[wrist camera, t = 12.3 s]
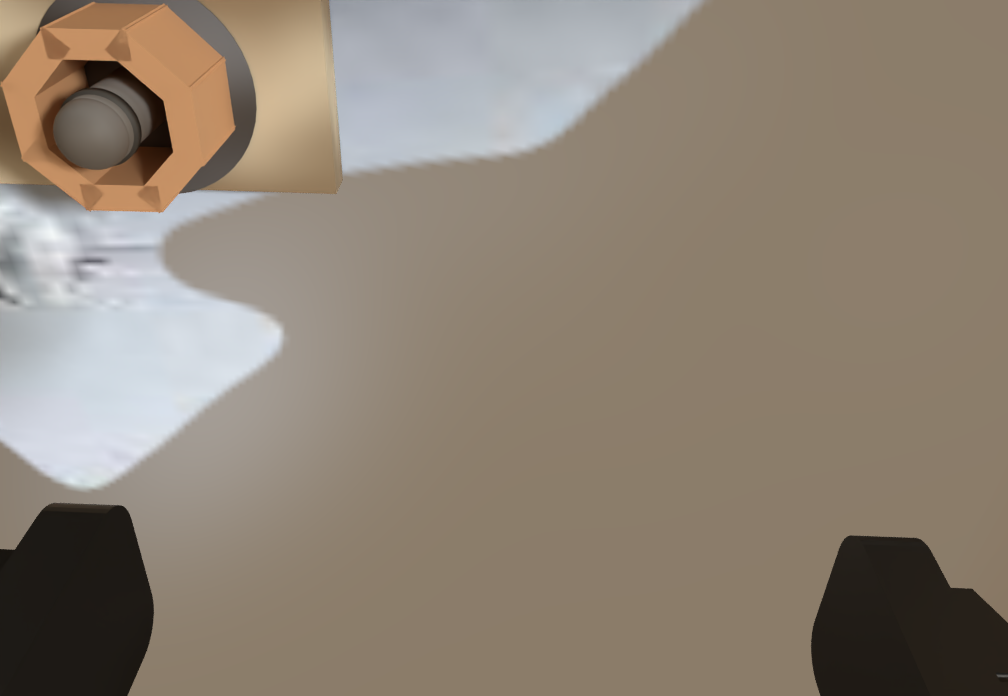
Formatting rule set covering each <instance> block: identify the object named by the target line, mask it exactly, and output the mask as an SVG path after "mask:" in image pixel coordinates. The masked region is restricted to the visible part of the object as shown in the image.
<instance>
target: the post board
mask: <svg viewBox="0 0 1008 696" xmlns="http://www.w3.org/2000/svg"><path fill="white" fill-rule="evenodd" d="M92 2H95V3H114V4H152V5H162V4H163V3H164V4H165V5H168V8H170V9H171V10H172V11H173V12H174V13H175V14H176V15H177V16H178V17H179V18H181V19H182V20H183V21H184V22H185V23H186V24H187V25H188V26H189V27H190V28H191V29H193V30H194V31H195V32H196V33H197V34H198V35H199V36H200V37H201V38H202V39H204V40H205V41H206V42H207V43H208V44H209V45H210V46H211V47H212V48H213V49H215V50H216V51H217V52H218V53H219V54H220V55H221V56H222V57H224V58H225V59H226V61H225V64H226V71H227V78H228V85H229V92H230V98H231V105H232V112H233V119H234V125H235V126H236V127H235V130H234V131H233V133H232V134H231V135H230V136H229V137H228V139H227V140H226V141H225V142H224V143H223V144H222V146H221V147H220V148H219V149H218V150H217V152H216V153H215V154H214V155H213V156H212V157H211V159H210V160H209V161H208V162H207V163H206V165H205V166H202V167H201V168H200V169H199V170H198V171H197V173H196V174H195V175H194V176H193V177H192V178H191V180H190V181H189V182H188V183H187V184H186V185H185V187H184V188H183V189H182V190H181V191H180V193H186V192H192V191H195V190H228V191H260V192H292V193H326V194H336V193H337V191H338V189H339V187H340V185H341V183H342V180H343V178H342V165H341V152H340V139H339V126H338V113H337V100H336V87H335V74H334V61H333V48H332V35H331V22H330V9H329V0H0V85H1V82H2V81H3V80H5V78H6V77H7V76H8V74H9V73H10V72H11V70H12V69H13V67H14V66H15V65H16V63H17V62H18V61H19V59H20V58H21V56H22V55H23V54H24V52H25V51H26V49H27V48H28V47H29V45H30V44H31V43H32V41H33V40H34V38H35V37H36V36H37V34H38V33H39V32H40V28H41V27H43V26H45V25H47V24H49V23H51V22H53V21H55V20H57V19H59V18H61V17H63V16H65V15H67V14H69V13H71V12H73V11H75V10H77V9H79V8H81V7H84V6H86V5H88V4H90V3H92ZM84 69H85V73H86V77H87V82H88V86H89V88H84V89H81V90H79V91H77V92H75V93H74V94H72V95H71V96H69V97H68V98H67V99H66V100H65V101H64V102H63V104H62V105H61V108H60V110H59V112H58V113H57V115H56V117H55V120H54V124H53V135H54V139H55V142H56V145H57V147H58V148H59V150H60V151H61V153H62V154H63V155H64V156H65V157H66V158H67V159H68V160H69V161H71V162H72V163H74V164H75V165H77V166H80V167H82V168H86V169H91V170H102V169H107V168H110V167H113V166H117V165H120V164H122V163H124V162H126V161H127V160H128V159H129V158H130V157H132V156H133V155H134V154H135V153H136V151H137V150H138V148H139V147H172V143H171V138H170V132H169V127H168V122H167V117H166V111H165V106H164V101H163V100H162V99H161V98H160V97H159V96H158V95H156V94H155V93H154V92H153V91H152V90H151V89H149V88H148V87H147V86H146V85H145V84H144V83H142V82H141V81H140V80H139V79H138V78H137V77H135V76H134V75H133V74H132V73H131V72H130V71H128V70H127V69H126V68H125V67H124V66H123V65H121V64H120V63H119V62H118V61H100V60H88V61H87V63H86V64H85V65H84ZM21 157H22V155H21V151H20V148H19V144H18V141H17V137H16V134H15V130H14V127H13V123H12V120H11V116H10V113H9V109H8V106H7V102H6V99H5V95H4V92H3V88H2V87H1V86H0V183H3V184H36V185H55V184H54V183H53V182H51V181H50V180H49V179H47V178H46V177H45V176H44V175H42V174H41V173H40V172H38V171H37V170H36V169H34V168H33V167H32V166H31V165H29V164H28V163H27V162H23V159H22V158H21ZM180 193H179V194H180Z"/></svg>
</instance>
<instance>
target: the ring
mask: <svg viewBox="0 0 1008 696" xmlns="http://www.w3.org/2000/svg"><path fill="white" fill-rule="evenodd" d="M88 60H100V61H118V62H119V63H120V64H121V65H123V66H124V67H125V68H126V69H127V70H128V71H130V72H131V73H132V74H133V75H134V76H135V77H137V78H138V79H139V80H140V81H141V82H142V83H144V84H145V85H146V86H147V87H148V88H149V89H151V90H152V91H153V92H154V93H155V94H156V95H158V96H159V97H160V98H161V99H162V100H163V101H164V106H165V111H166V117H167V122H168V127H169V132H170V138H171V143H172V147H139V148H138V150H137V151H136V153H135V154H134V155H133V156H132V157H130V158H129V159H128V160H127V161H126V162H124V163H122V164H120V165H117V166H113V167H110V168H107V169H102V170H91V169H86V168H82V167H80V166H77V165H75V164H74V163H72V162H71V161H69V160H68V159H67V158H66V157H65V156H64V155H63V154H62V153H61V151H60V150H59V148H58V147H57V145H56V142H55V139H54V135H53V124H54V120H55V117H56V115H57V113H58V112H59V110H60V108H61V105H62V104H63V102H64V101H65V100H66V99H67V98H68V97H69V96H71V95H72V94H74V93H75V92H77V91H79V90H81V89H84V88H89V86H88V82H87V77H86V73H85V69H84V65H85V64H86V63H87V61H88ZM225 61H226V59H225V58H224V57H222V56H221V55H220V54H219V53H218V52H217V51H216V50H215V49H213V48H212V47H211V46H210V45H209V44H208V43H207V42H206V41H205V40H204V39H202V38H201V37H200V36H199V35H198V34H197V33H196V32H195V31H194V30H193V29H191V28H190V27H189V26H188V25H187V24H186V23H185V22H184V21H183V20H182V19H181V18H179V17H178V16H177V15H176V14H175V13H174V12H173V11H172V10H171V9H170V8H168V5H165V4H164V3H163V4H162V5H152V4H114V3H95V2H92V3H90V4H88V5H86V6H84V7H81V8H79V9H77V10H75V11H73V12H71V13H69V14H67V15H65V16H63V17H61V18H59V19H57V20H55V21H53V22H51V23H49V24H47V25H45V26H43V27H41V28H40V32H39V33H38V34H37V36H36V37H35V38H34V40H33V41H32V43H31V44H30V45H29V47H28V48H27V49H26V51H25V52H24V54H23V55H22V56H21V58H20V59H19V61H18V62H17V63H16V65H15V66H14V67H13V69H12V70H11V72H10V73H9V74H8V76H7V77H6V78H5V80H3V81H2V82H1V85H0V86H1V87H2V88H3V92H4V95H5V99H6V102H7V106H8V109H9V113H10V116H11V120H12V123H13V127H14V130H15V134H16V137H17V141H18V144H19V148H20V151H21V155H22V157H21V158H22V159H23V162H27V163H28V164H29V165H31V166H32V167H33V168H34V169H36V170H37V171H38V172H40V173H41V174H42V175H44V176H45V177H46V178H47V179H49V180H50V181H51V182H53V183H54V184H55V185H56V186H58V187H59V188H60V189H62V190H63V191H64V192H66V193H67V194H68V195H69V196H71V197H72V198H73V199H75V200H76V201H77V202H78V203H80V204H81V205H82V206H84V207H85V208H86V210H89V211H91V210H102V211H140V212H159V213H160V212H163V211H164V210H165V209H166V208H167V207H168V205H169V204H170V203H171V202H172V201H173V200H174V198H175V197H176V196H177V195H178V194H179V193H180V191H181V190H182V189H183V188H184V187H185V185H186V184H187V183H188V182H189V181H190V180H191V178H192V177H193V176H194V175H195V174H196V173H197V171H198V170H199V169H200V168H201V167H202V166H205V165H206V163H207V162H208V161H209V160H210V159H211V157H212V156H213V155H214V154H215V153H216V152H217V150H218V149H219V148H220V147H221V146H222V144H223V143H224V142H225V141H226V140H227V139H228V137H229V136H230V135H231V134H232V133H233V131H234V130H235V127H236V126H235V125H234V119H233V112H232V105H231V98H230V92H229V85H228V78H227V71H226V64H225Z"/></svg>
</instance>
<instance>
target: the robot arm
mask: <svg viewBox="0 0 1008 696" xmlns="http://www.w3.org/2000/svg"><path fill="white" fill-rule="evenodd" d="M153 616H154V605H153V597H152V593H151V590H150V586H149V582H148V578H147V575H146V571H145V567H144V564H143V560H142V556H141V553H140V549H139V546H138V542H137V538H136V534H135V531H134V527H133V523H132V520H131V517H130V514H129V512H128V511H127V509H126V508H125V507H123V506H119V505H96V504H70V503H68V504H67V503H53V504H50V505H48V506H46V507H45V508H44V509H43V510H42V511H41V512H40V514H39V515H38V516H37V517H36V519H35V520H34V522H33V523H32V525H31V526H30V528H29V530H28V531H27V532H26V534H25V535H24V537H23V539H22V540H21V541H20V543H19V545H18V546H17V547H16V549H15V550H6V549H0V696H127V695H128V693H129V691H130V688H131V686H132V684H133V681H134V679H135V677H136V675H137V672H138V670H139V668H140V666H141V663H142V661H143V659H144V656H145V654H146V651H147V648H148V645H149V641H150V637H151V633H152V626H153ZM811 642H812V643H811V653H812V664H813V671H814V675H815V680H816V683H817V686H818V690H819V693H820V696H1008V623H1007V622H1006V621H1005V620H1004V619H1003V618H1002V617H1001V616H1000V615H999V614H998V613H997V612H996V611H995V610H994V609H993V608H992V607H991V606H990V605H989V604H987V603H986V602H985V601H984V600H983V599H982V598H981V597H980V596H979V595H978V594H977V593H976V592H975V591H974V590H973V589H964V588H950V586H949V584H948V582H947V580H946V578H945V577H944V575H943V573H942V571H941V569H940V567H939V565H938V563H937V561H936V560H935V558H934V556H933V554H932V552H931V550H930V549H929V547H928V546H927V545H926V544H925V543H924V542H923V541H922V540H920V539H918V538H902V537H874V536H848V537H846V538H845V539H844V541H843V542H842V544H841V546H840V548H839V551H838V555H837V557H836V560H835V563H834V566H833V569H832V572H831V575H830V578H829V581H828V583H827V587H826V590H825V593H824V596H823V598H822V601H821V604H820V607H819V610H818V613H817V616H816V619H815V622H814V626H813V631H812V640H811Z"/></svg>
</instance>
